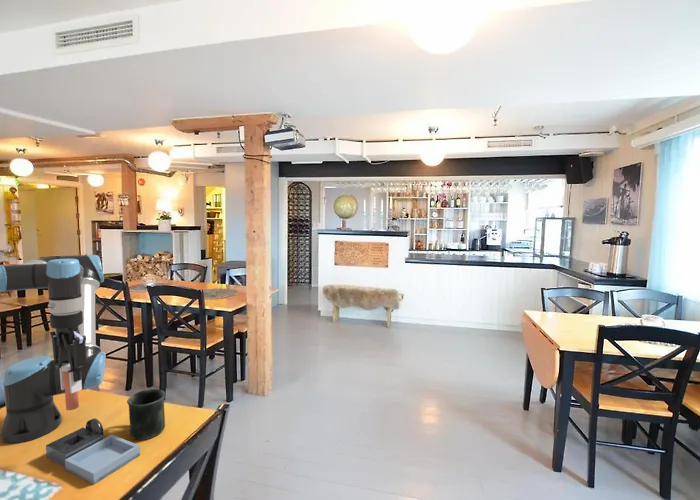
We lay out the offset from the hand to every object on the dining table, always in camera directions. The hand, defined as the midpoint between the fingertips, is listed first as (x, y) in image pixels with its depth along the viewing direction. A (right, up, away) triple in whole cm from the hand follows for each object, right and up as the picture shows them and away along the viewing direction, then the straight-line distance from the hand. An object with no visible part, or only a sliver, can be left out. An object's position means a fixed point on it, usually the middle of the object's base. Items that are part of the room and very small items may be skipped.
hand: (71, 389), depth 106 cm
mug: (+14, -19, +14) cm, 28 cm away
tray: (+11, -20, -2) cm, 23 cm away
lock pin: (0, -6, 0) cm, 6 cm away
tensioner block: (0, -20, +2) cm, 20 cm away
